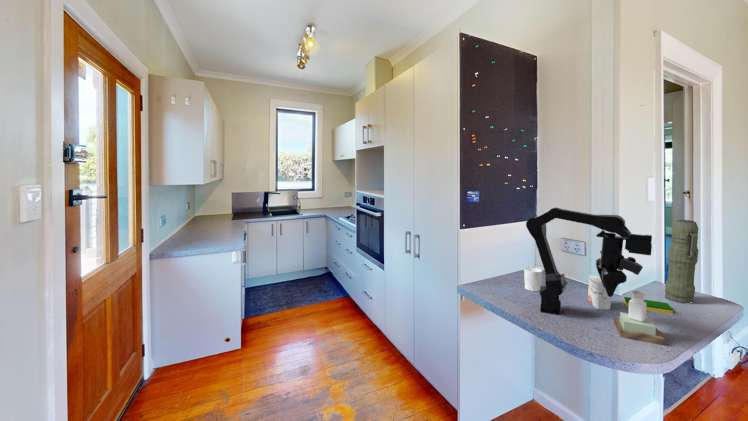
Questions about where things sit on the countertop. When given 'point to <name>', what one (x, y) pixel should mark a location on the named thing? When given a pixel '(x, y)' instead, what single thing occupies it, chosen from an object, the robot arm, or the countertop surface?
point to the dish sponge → (653, 305)
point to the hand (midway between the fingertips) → (607, 292)
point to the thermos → (682, 262)
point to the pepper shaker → (637, 306)
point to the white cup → (532, 278)
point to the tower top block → (637, 325)
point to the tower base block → (638, 334)
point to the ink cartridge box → (598, 293)
